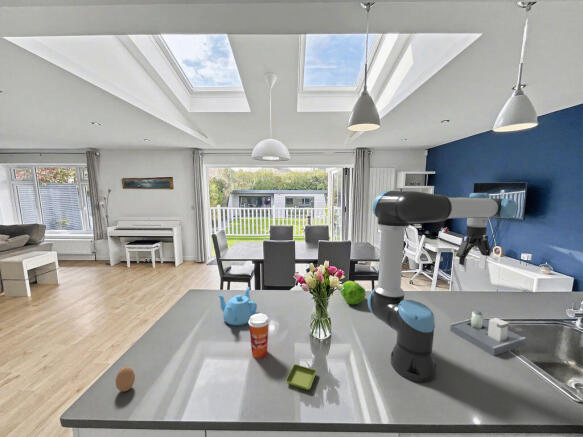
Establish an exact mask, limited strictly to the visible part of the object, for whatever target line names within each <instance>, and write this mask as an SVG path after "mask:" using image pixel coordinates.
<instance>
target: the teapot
mask: <svg viewBox="0 0 583 437" xmlns="http://www.w3.org/2000/svg"><path fill="white" fill-rule="evenodd" d="M250 289H251V288H250V286H248V287H246V289H245V292H244V295H242V294H237V295H235V296H232V297H231V298H230V299H229V300H228V302H227V303H226V300H225V298H224V295H222V294H220V293H216V295H217V297H219V300H220V309H221V311H222V312H223V320H224V321H225V322H226V323H227V324H228V325H231V326H236V327H237V326H244V325H247V324H249V323H248V322H249V320H250V317H251V316H252V315H254V314H259V313H258V312H257V309H258V304H257V302H255V301H253V300H251V299H250V298H251V296H250Z"/></svg>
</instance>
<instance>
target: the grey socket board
mask: <svg viewBox="0 0 583 437" xmlns="http://www.w3.org/2000/svg"><path fill="white" fill-rule="evenodd" d="M488 327H489V320H487V319H485V318H483V321H482V329H480V330H477V329H475V328H473V327H471V318H469V319H465V320H460V321H457V322H453V323H450V329H449V331H450V332H452V333H453V334H455V335H457V336H459V337H460V338H462V339H463V340H466V341H467V342H469V343H471V344H472V345H474V346H476V347H477V348H479V349H481V350H483V351H484V352H485V353H488V354H489V355H491V356H494V357H495V356H497V355H501V354H503V353H506V352H509V351H511V350H510V349H512V350H515V349H518V348H521V347H524V346H526V342H527V341H526V340H527V337H526V336H521V335H519V334H517V333H515V332H514V331H510V330H509V329H508V331H507V340H505V341H502V342H499V341H497V340H495V339H493V338H491V337H489V336H488Z"/></svg>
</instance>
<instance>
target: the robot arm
mask: <svg viewBox="0 0 583 437" xmlns="http://www.w3.org/2000/svg"><path fill="white" fill-rule="evenodd" d="M517 209H518V206H517V202H516V200H514V199H512V198H505V197H504V198H499V197H498V198H491V196H490V193H488V192H470V193H469V196H468V197H464V196H462V197H459V196H458V197H448V196H446V195H444V194H436V193H429V192H428V193H427V192H424V191H423V192H422V191H415V190H410V191H409V190H388V191H383V192H381V193H379V194H378V195H377V196H376V197H375V199H374V201H373V203H372V213H373V214H374V216H375V217H376V218H377V225H378V226H379V227H380V244H379V245H380V246H379V247H380V249H379V264H378V267H379V269H378V279H377V280H378V283H377V285H375V286H374V288H373V290H372V291H371V292H370V294H369V295H368V297H367V306H368V307H367V308H368V310H369V311H370V313H371V314H372V315H374V317H376V318H377V319H378V320H380V321H381V322H383V323H384V324H386V325H388V327H390V328H391V329H392V330H393V331H395V332H396V342H395V345H394V347H393V349H392V352H391V354H390V364H391V368H393V370H394V371H395V372H396V373H398V374H399V375H400V376H401V377H403V378H405V379H407V380H409V381H413V382H416V383H431V382H433V381H434V380H436V378H437V371H438V370H437V365H436V362H435V358H434V353H433V348H434V347H433V343H434V335H435V333H434V332H435V328H436V326H435V325H436V323H435V314H434V312H433V311H432V309H431V308H430V307H429V306H428V305H426V304H424V303H423V302H420V301H415V300H414V299H413V300H412V299H405V291H404V289H403V288H401V287H402V286H401V285H402V271H403V258H404V257H403V256H404V246H405V245H404V244H405V231H406V229H408V228H409V227H410V224H424V223H438V222H444V221H446V220H447V219H466V230H465V233H466V234H467V235H468V236H462V240H461V243H460V245H459V247H458V250H457V252H456V254H455V256H456V257H458V258H459V260H458V261H459V262H458V271H459V272H462V273H466V272H467V260H468V258H467V256H468V254H469V253H470V252H471V250H472V248H474V247H476V246H477V249H478V250H479V252H480V254H479V260H478V268H479V269H482V270H486V268H487V260H488V257H490V256H491V254H492V251H491V247H490V243H489V235H486V234H487V229H488V228H487V225H488V222H489V220H488V219H489V218H498V219H499V218H500V219H510V218H513V217H514V216H515V215H516V213H517Z"/></svg>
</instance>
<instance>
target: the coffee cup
mask: <svg viewBox="0 0 583 437" xmlns="http://www.w3.org/2000/svg"><path fill="white" fill-rule="evenodd" d="M270 321H271V320H270V318H269V317H268V315H267V314H265V313H258V314H254V315H252V316H251V317H250V320H249V322H248V323H247V324H248V325H249V334H250V346H251V354H252V357H254V358H255V359H263V358H264V357H266V356H267V354H268V346H269V345H268V344H269V343H268V342H269V325H270Z"/></svg>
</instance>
